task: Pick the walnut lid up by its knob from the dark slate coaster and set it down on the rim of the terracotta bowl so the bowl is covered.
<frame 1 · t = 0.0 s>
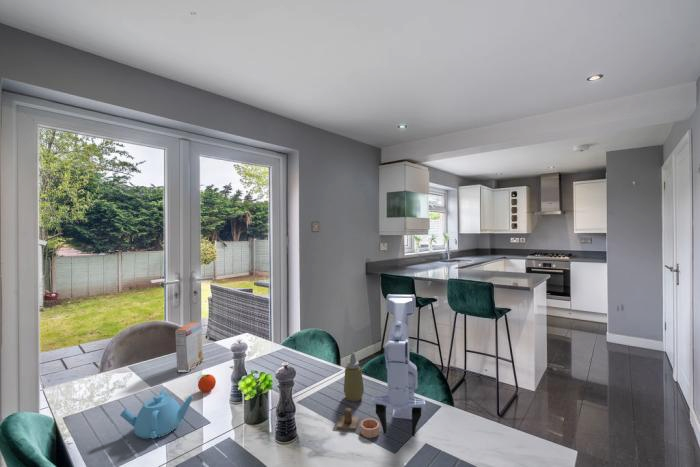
hand: (399, 432, 91), 10 cm above the table, fingers open, 7 cm apart
coaster: (348, 425, 112), on the table
bowl: (370, 432, 108), on the table
squeeze bottle: (354, 399, 130), on the table
clementine: (206, 391, 139), on the table
teapot: (158, 428, 113), on the table
lid: (348, 424, 112), resting on coaster
cracker box: (190, 367, 164), on the table
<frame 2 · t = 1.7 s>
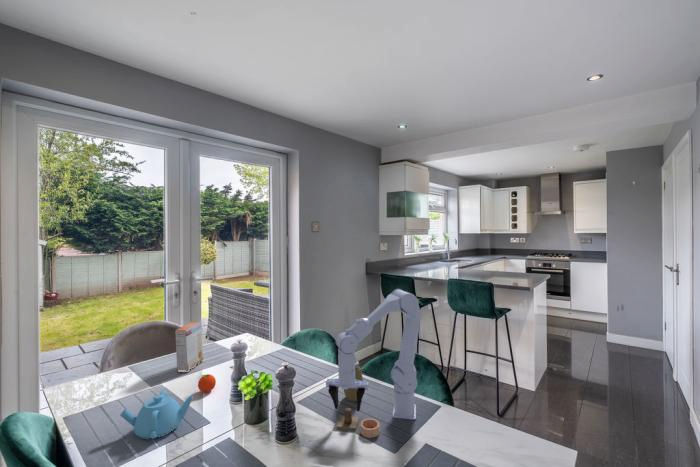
hand: (347, 408, 112), 6 cm above the table, fingers open, 7 cm apart
nothing on the table moved.
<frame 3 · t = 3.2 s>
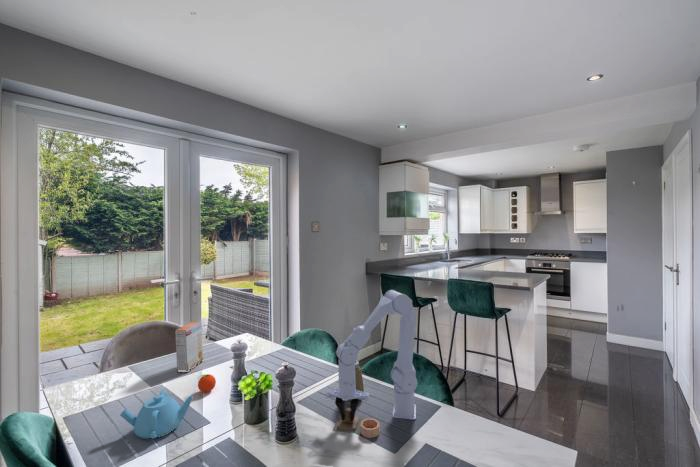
hand: (348, 419, 112), 2 cm above the table, fingers closed on lid, 3 cm apart
lid: (348, 424, 112), resting on coaster, touching gripper
everything else where it was.
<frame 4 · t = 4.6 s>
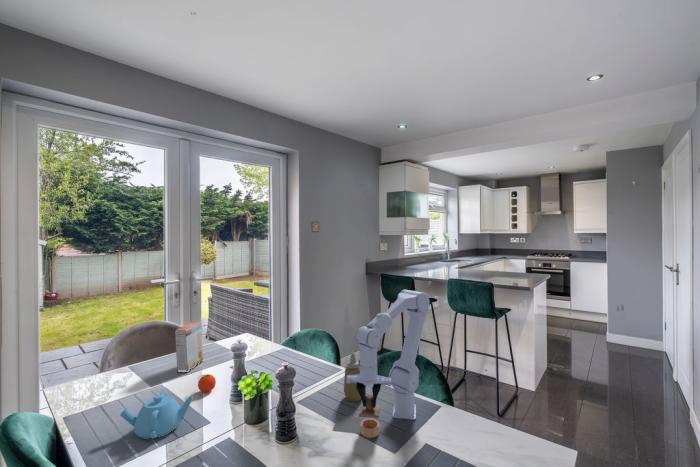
hand: (369, 405, 107), 9 cm above the table, fingers closed on lid, 3 cm apart
lid: (369, 411, 107), point 7 cm above the table, touching gripper
everything else where it was.
when the fingers open (6 cm above the table, at t = 5.8 s): lid stays where it is, resting on bowl.
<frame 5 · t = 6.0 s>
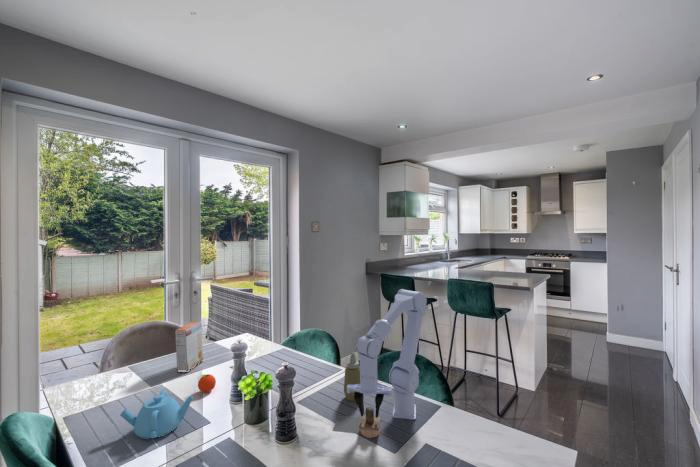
hand: (369, 415, 107), 6 cm above the table, fingers open, 4 cm apart
lid: (369, 424, 107), point 3 cm above the table, touching bowl
everything else where it was.
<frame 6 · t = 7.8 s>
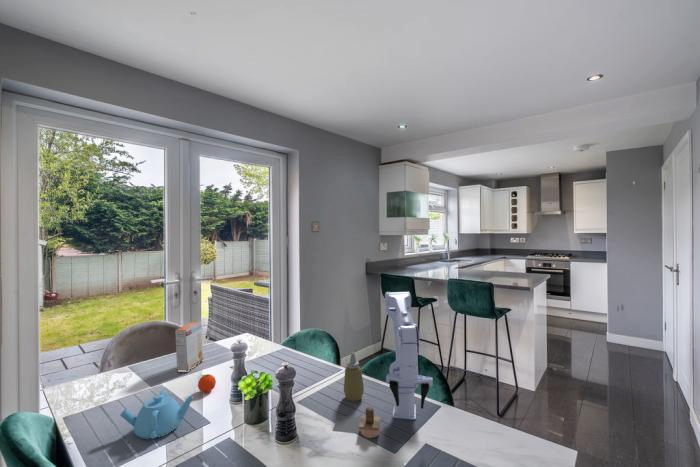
hand: (409, 405, 105), 10 cm above the table, fingers open, 7 cm apart
nothing on the table moved.
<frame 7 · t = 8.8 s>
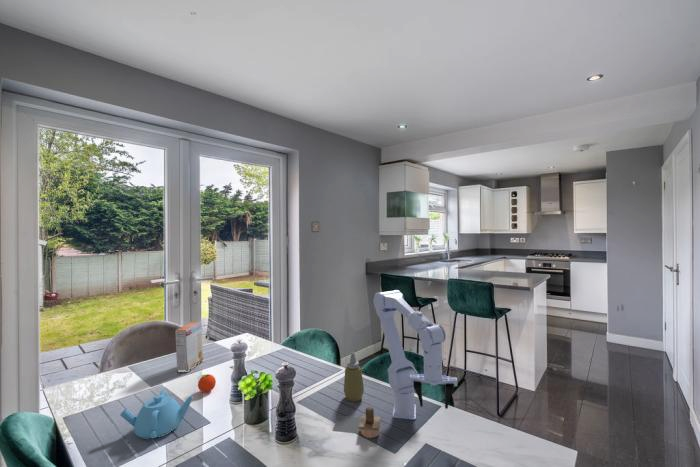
hand: (433, 406, 105), 10 cm above the table, fingers open, 7 cm apart
nothing on the table moved.
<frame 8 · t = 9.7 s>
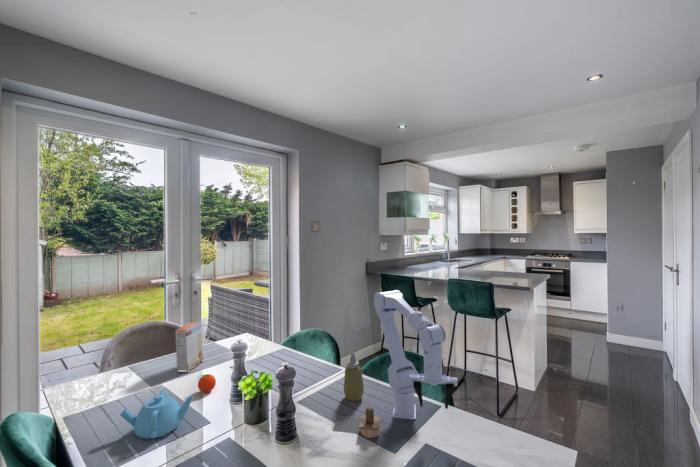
hand: (433, 406, 105), 10 cm above the table, fingers open, 7 cm apart
nothing on the table moved.
at the end: lid 0.0 cm off-centre on the bowl, point 3.0 cm above the bowl's base; lid tilted 0°; the gripper is holding nothing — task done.
